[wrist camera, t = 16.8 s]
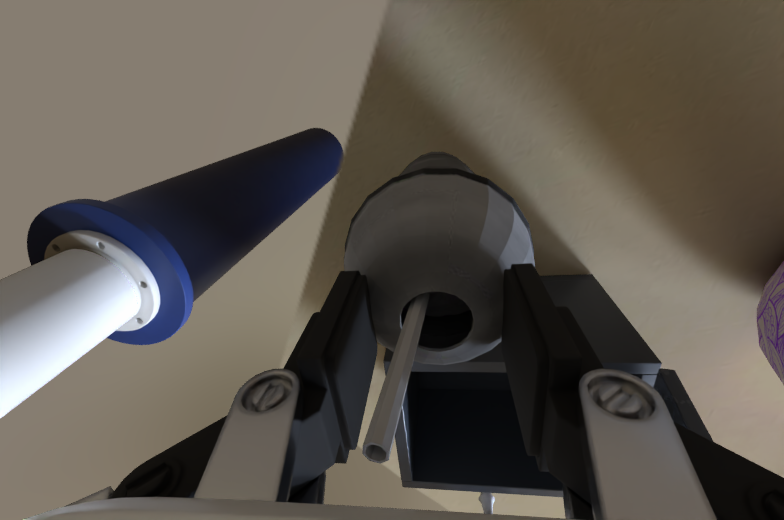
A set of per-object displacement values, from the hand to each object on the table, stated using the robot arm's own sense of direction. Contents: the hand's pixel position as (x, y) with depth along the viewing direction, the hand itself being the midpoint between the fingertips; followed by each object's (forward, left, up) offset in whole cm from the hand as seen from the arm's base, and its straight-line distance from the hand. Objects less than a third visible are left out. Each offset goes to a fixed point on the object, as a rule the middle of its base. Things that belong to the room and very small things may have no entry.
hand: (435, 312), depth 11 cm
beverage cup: (0, 0, -15) cm, 15 cm away
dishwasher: (+4, -17, -20) cm, 26 cm away
